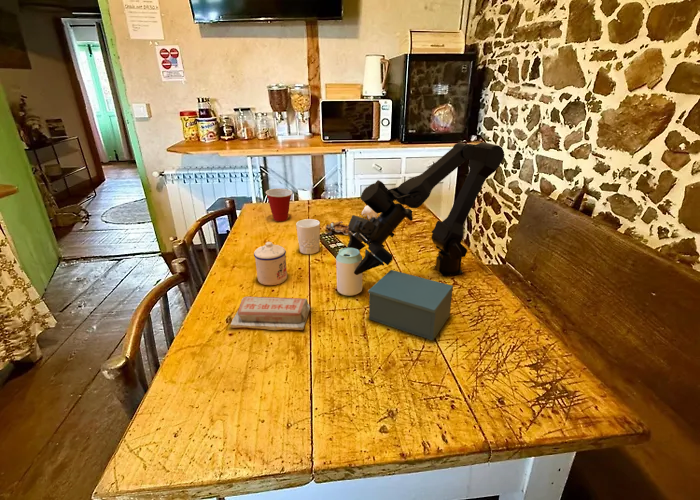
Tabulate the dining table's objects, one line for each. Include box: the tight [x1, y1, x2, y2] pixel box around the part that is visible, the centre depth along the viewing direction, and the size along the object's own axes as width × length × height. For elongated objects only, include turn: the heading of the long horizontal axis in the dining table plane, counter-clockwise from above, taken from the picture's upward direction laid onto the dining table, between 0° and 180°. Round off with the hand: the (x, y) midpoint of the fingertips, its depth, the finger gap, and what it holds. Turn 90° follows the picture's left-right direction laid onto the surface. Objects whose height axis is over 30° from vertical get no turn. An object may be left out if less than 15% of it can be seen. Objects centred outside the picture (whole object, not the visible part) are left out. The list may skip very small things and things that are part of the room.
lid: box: [367, 269, 454, 313], centre depth 94 cm, size 12×17×1 cm
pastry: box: [324, 220, 351, 236], centre depth 150 cm, size 7×12×4 cm, turn 89°
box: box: [368, 288, 454, 341], centre depth 97 cm, size 12×17×8 cm
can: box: [335, 247, 363, 297], centre depth 108 cm, size 7×7×12 cm
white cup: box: [295, 218, 321, 255], centre depth 134 cm, size 8×8×10 cm
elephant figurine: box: [361, 205, 379, 220], centre depth 162 cm, size 7×8×6 cm
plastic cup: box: [265, 188, 293, 222], centre depth 162 cm, size 11×11×12 cm
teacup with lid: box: [253, 241, 288, 286], centre depth 116 cm, size 12×9×12 cm
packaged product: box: [229, 295, 311, 331], centre depth 98 cm, size 18×5×10 cm
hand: (349, 266), depth 107 cm, fingers open, 9 cm apart
